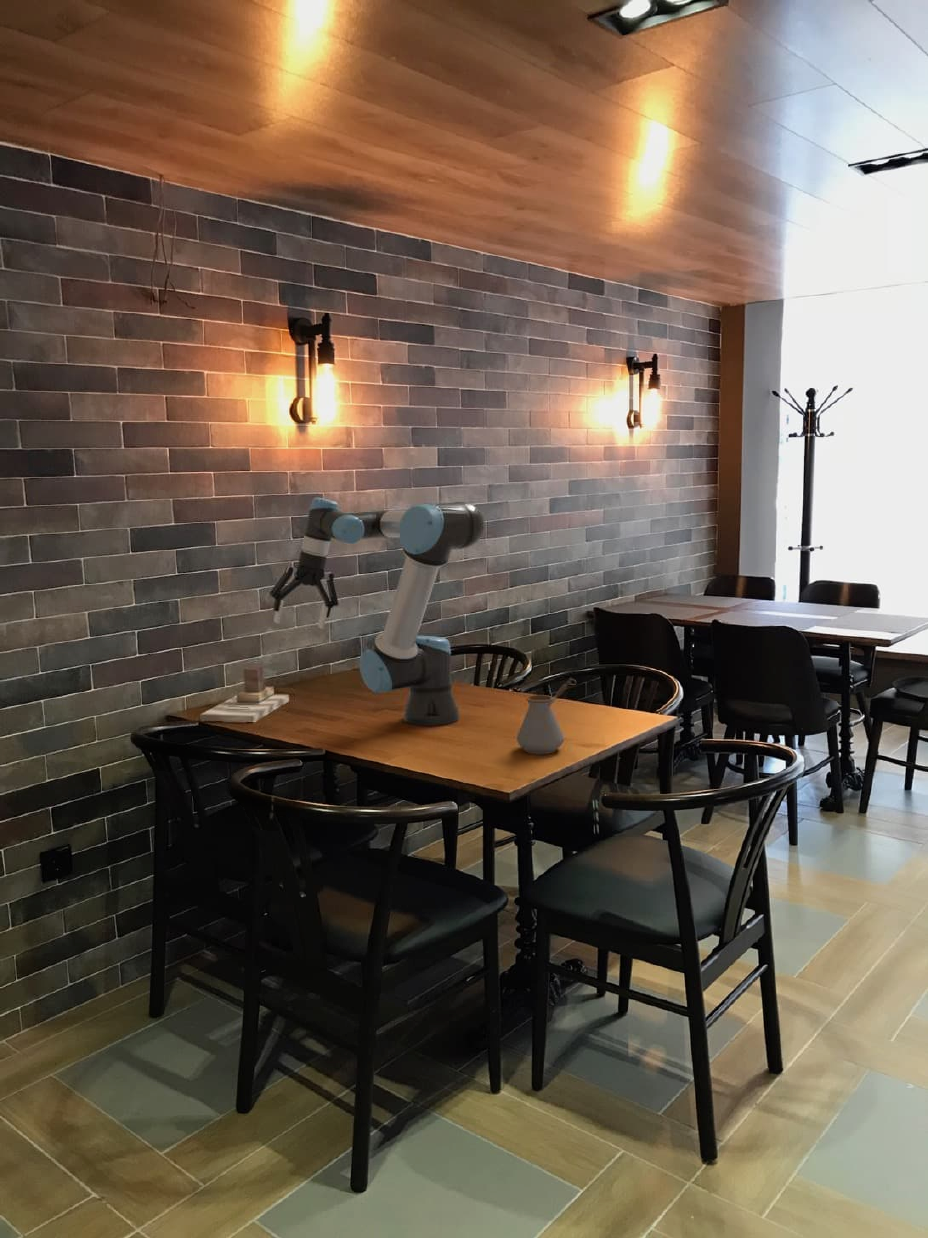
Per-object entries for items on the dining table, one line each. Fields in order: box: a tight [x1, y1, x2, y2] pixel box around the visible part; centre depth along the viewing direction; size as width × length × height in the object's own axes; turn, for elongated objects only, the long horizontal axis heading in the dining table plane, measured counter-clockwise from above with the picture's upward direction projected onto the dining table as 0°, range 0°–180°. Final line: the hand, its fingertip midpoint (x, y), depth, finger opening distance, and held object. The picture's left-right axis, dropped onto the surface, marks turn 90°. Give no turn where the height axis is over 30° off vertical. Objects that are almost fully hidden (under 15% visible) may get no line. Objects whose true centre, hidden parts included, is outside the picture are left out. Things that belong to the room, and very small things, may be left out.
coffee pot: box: [516, 677, 577, 755], centre depth 239 cm, size 21×12×15 cm, turn 143°
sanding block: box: [236, 665, 275, 703], centre depth 292 cm, size 11×7×10 cm, turn 168°
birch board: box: [199, 693, 290, 723], centre depth 286 cm, size 26×16×2 cm, turn 168°
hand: (298, 625), depth 278 cm, fingers open, 13 cm apart
